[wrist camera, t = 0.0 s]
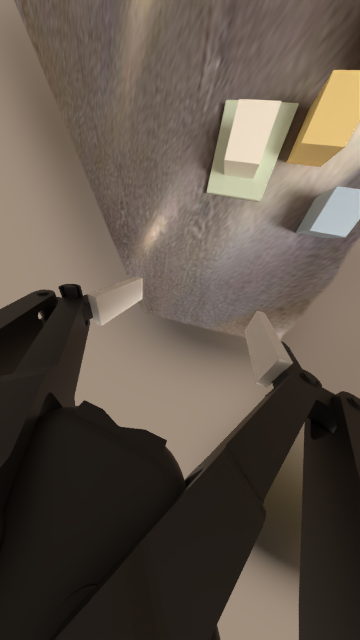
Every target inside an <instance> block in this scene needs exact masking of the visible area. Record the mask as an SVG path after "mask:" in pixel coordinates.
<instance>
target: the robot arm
mask: <svg viewBox="0 0 360 640" xmlns="http://www.w3.org/2000/svg"><path fill="white" fill-rule="evenodd" d="M142 285H143V278H142V277H138V276H136V277H133V278H130V279H128V280H125V281H122V282H120V283H117V284H114V285H111V286H109V287H106V288H103V289H100V290H98V291H95V292H92V293H89V294H87V295H84V296H83V295H82V290H81V287H80V286H79V285H76V284H65V285H61V286H59V290H60V293H61V295H62V298H61V297H56V295H55V292H53V291H51V290H39V291H35V292H33V293H31V294H28V295H27V296H25V297H23V298H21V299H19V300H17V301H15V302H13V303H11V304H9V305H7V306H6V307H4V308H2V309H0V640H220V636H219V632H218V627H217V623H218V621H219V619H220V616H221V614H222V612H223V610H224V608H225V606H226V603H227V602H228V599H229V597H230V595H231V593H232V591H233V589H234V587H235V584H236V582H237V580H238V578H239V576H240V574H241V572H242V570H243V567H244V565H245V563H246V561H247V559H248V557H249V555H250V553H251V550H252V548H253V546H254V544H255V542H256V540H257V538H258V536H259V533H260V531H261V529H262V527H263V524H264V521H265V517H266V510H265V507H264V499H265V497H266V495H267V493H268V491H269V489H270V487H271V485H272V483H273V481H274V479H275V477H276V475H277V474H278V472H279V470H280V468H281V466H282V464H283V462H284V460H285V458H286V456H287V454H288V452H289V451H290V449H291V447H292V445H293V443H294V441H295V439H296V437H297V435H298V433H299V431H300V429H301V427H302V426H303V424H304V422H305V429H304V461H303V491H302V522H301V553H300V554H301V555H300V557H301V558H300V584H299V585H300V586H299V640H360V399H359V398H357V397H356V396H354V395H352V394H350V393H348V392H344V391H343V392H340V393H338V394H336V395H335V394H333V393H331V392H329V391H328V390H326V389H324V388H322V385H321V383H320V381H319V380H318V379H317V378H316V377H315V376H313V375H312V374H311V373H309V372H307V371H306V370H303V369H302V368H301V366H300V365H299V363H298V361H297V360H296V358H295V357H294V355H293V353H292V352H291V350H290V348H289V347H288V346H287V345H286V344H285V343H284V342H282V341H280V339H279V337H278V336H277V334H276V332H275V330H274V329H273V327H272V325H271V323H270V321H269V320H268V318H267V316H266V314H265V313H263V312H260V311H256V313H255V315H254V316H253V318H252V320H251V321H250V323H249V325H248V326H247V328H246V330H245V335H246V340H247V345H248V349H249V354H250V358H251V363H252V367H253V372H254V376H255V381H256V383H257V384H260V385H262V386H265V387H268V386H269V385H270V384H271V383H273V386H274V389H272V390H271V391H270V392H269V393H268V394H267V395H266V396H265V398H264V399H263V400H262V401H261V402H260V403H259V404H258V405H257V406H256V407H255V408H254V409H253V410H252V411H251V412H250V413H249V414H248V415H247V416H246V417H245V418H244V420H243V421H242V422H241V423H240V424H239V425H238V426H237V427H236V428H235V429H234V430H233V431H232V432H231V433H230V434H229V435H228V436H227V437H226V438H225V439H224V440H223V441H222V442H221V443H220V445H219V446H218V447H217V448H216V449H215V450H214V451H213V452H212V453H211V454H210V455H209V456H208V457H207V458H206V459H205V460H204V461H203V462H202V463H201V464H200V465H199V466H198V467H197V468H196V469H195V470H194V471H193V472H192V473H191V474H190V475H189V476H188V477H187V478H186V479H185V480H184V478H183V475H182V472H181V469H180V467H179V465H178V463H177V461H176V460H175V458H174V456H173V455H172V453H171V452H170V451H169V450H168V449H167V448H166V447H165V445H166V442H167V440H165V439H163V438H161V437H159V436H157V435H155V434H153V433H150V432H149V431H147V430H143V429H134V428H125V427H119V426H118V425H117V424H116V423H115V422H114V421H113V420H112V419H111V418H110V416H109V415H108V414H106V412H105V411H104V410H103V409H101V408H99V407H97V406H95V405H93V404H91V403H89V402H87V401H83V402H82V403H81V404H80V405H79V406H75V400H74V396H75V391H76V386H77V382H78V376H79V372H80V368H81V363H82V358H83V354H84V349H85V344H86V340H87V335H88V331H89V325H90V320H89V319H91V318H93V319H94V323H95V324H98V325H101V326H102V325H103V324H105V323H107V322H108V321H109V320H111V319H113V318H114V317H116V316H117V315H119V314H120V313H122V312H123V311H125V310H126V309H128V308H129V307H131V306H132V305H134V304H135V303H137V302H138V301H140V300H141V299H142ZM39 312H40V314H41V316H42V318H41V319H38V313H39Z"/></svg>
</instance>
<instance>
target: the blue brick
mask: <svg viewBox="0 0 360 640" xmlns="http://www.w3.org/2000/svg"><path fill="white" fill-rule="evenodd" d="M359 219H360V189H353V188H345V187H335V188H333V189H331V190H329V191H327V192H325V193H323V194H321V195H319V196H317V197H316V198H315V200H314V201H313V203H312V205H311V207H310V208H309V210H308V212H307V214H306V215H305V217H304V219H303V221H302V222H301V224H300V226H299V228H298V229H297V231H296V233H300V234H305V235H310V236H316V237H321V238H338V237H346V236H347V235H348V233H349V232H350V231H351V229H352V228H353V227H354V225H355V224H356V223H357V221H358V220H359Z"/></svg>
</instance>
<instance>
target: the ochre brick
mask: <svg viewBox="0 0 360 640" xmlns="http://www.w3.org/2000/svg"><path fill="white" fill-rule="evenodd" d="M359 121H360V70H333V72H332V73H331V75H330V77H329V78H328V80H327V82H326V83H325V85H324V86H323V88H322V90H321V91H320V93H319V94H318V96H317V98H316V99H315V101H314V102H313V104H312V106H311V107H310V109H309V111H308V113H307V116H306V118H305V120H304V123H303V125H302V127H301V130H300V132H299V134H298V137H297V139H296V141H295V144H294V146H293V148H292V151H291V153H290V155H289V158H288V160H287V162H286V163H292V164H300V165H309V166H318V167H321V166H322V165H323V164H324V163H326V162H327V161H328V160H329V159H331V158H332V157H333V156H334V155H336V154H337V153H338V152H339V151H340V150H342V149H343V148H344V147H345V146H346V144H347V142H348V141H349V139H350V137H351V135H352V134H353V132H354V130H355V128H356V127H357V125H358V123H359Z"/></svg>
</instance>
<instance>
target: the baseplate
mask: <svg viewBox="0 0 360 640" xmlns="http://www.w3.org/2000/svg"><path fill="white" fill-rule="evenodd" d="M298 105H299V103H283V102H282V101H271V100H249V99H239V100H226V104H225V109H224V113H223V118H222V123H221V127H220V132H219V137H218V141H217V146H216V151H215V155H214V160H213V165H212V169H211V174H210V179H209V183H208V188H207V194H213V195H219V196H225V197H231V198H237V199H244V200H250V201H256V202H260V201H261V198H262V196H263V193H264V191H265V188H266V186H267V183H268V181H269V178H270V176H271V173H272V171H273V168H274V166H275V163H276V161H277V158H278V155H279V153H280V150H281V148H282V145H283V143H284V140H285V138H286V135H287V133H288V130H289V128H290V125H291V123H292V120H293V118H294V115H295V113H296V110H297V108H298Z"/></svg>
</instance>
